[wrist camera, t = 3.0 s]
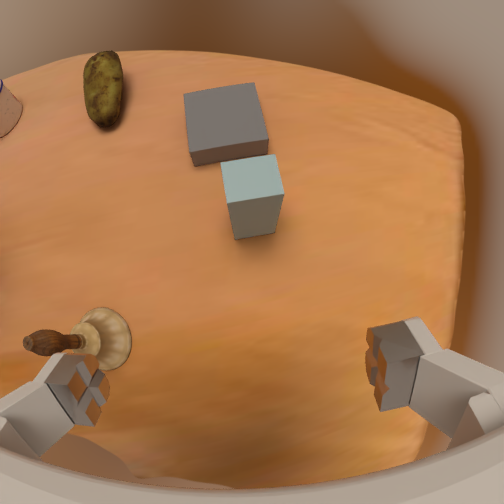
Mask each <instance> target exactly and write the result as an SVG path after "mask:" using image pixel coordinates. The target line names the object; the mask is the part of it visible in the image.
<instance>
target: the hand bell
mask: <svg viewBox="0 0 504 504" xmlns="http://www.w3.org/2000/svg"><path fill="white" fill-rule="evenodd" d="M23 346H24V348H25V349H26V350H29V351H32V352H34V353H36V354H38V355H41V356H52V355H53V354H55V353H61V352H62V351H63V350H65V349H72V350H73V352H74V353H85V354H92V355H94V356H95V357H96V358H97V360H98V362H99V369H101V370H113V369H116V368H118V367H119V366H121V365H122V364H123V363H124V362H125V361H126V359H127V358H128V356H129V353H130V350H131V334H130V330H129V328H128V325H127V323H126V322H125V320H124V319H123V318H122V317H121V316H120V315H119V314H118V313H117V312H115V311H114V310H112V309H109V308H102V307H101V308H95V309H92V310H90V311H89V312H88V313H86V314H85V315H84V316H83V318H82V319H81V321H80V323H78V324H77V325H75V326H74V327H73V329H72V330H71V333H70V335H63V334H61V333H59V332H57V331H54V330H39V331H36V332H34V333H32V334H31V335H29V336H26V337H25V338H24V339H23Z"/></svg>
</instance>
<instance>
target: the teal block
mask: <svg viewBox="0 0 504 504" xmlns="http://www.w3.org/2000/svg"><path fill="white" fill-rule="evenodd" d="M221 170H222V176H223V182H224V188H225V194H226V200H227V205H228V210H229V215H230V219H231V224H232V229H233V233H234V238H235V240H236V239H242V238H248V237H253V236H259V235H265V234H271V233H275V229H276V225H277V221H278V217H279V213H280V209H281V205H282V201H283V197H284V190H283V186H282V182H281V177H280V173H279V169H278V165H277V161H276V156H275V154H272V155H265V156H259V157H252V158H246V159H239V160H233V161H228V162H222V163H221Z"/></svg>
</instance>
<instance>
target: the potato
mask: <svg viewBox="0 0 504 504" xmlns="http://www.w3.org/2000/svg"><path fill="white" fill-rule="evenodd" d="M83 76H84V97H85V105H86V109H87V113H88V115H89V117H90V118H91V119H92V120H93V121H94V122H95V123H96V124H97V125H98V126H100V127H108V126H110V125H112V124H113V123H114V122H115V121H116V119H117V117H118V115H119V113H120V100H121V99H122V82H123V81H122V80H123V71H122V67H121V62H120V59H119V56H118V55H117V53H115V52H113V51H104V52H99V53H97V54H96V55H94V56H92V57H91V58H90V59H89V60H88V61H87V63H86V65H85V68H84V75H83Z"/></svg>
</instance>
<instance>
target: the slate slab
mask: <svg viewBox="0 0 504 504" xmlns="http://www.w3.org/2000/svg"><path fill="white" fill-rule="evenodd" d="M184 104H185V115H186V125H187V134H188V144H189V152H190V155H191V158H192V161H193V163H194V166H200V165H205V164H210V163H216V162H222V161H227V160H233V159H239V158H245V157H252V156H258V155H265V154H267V152H268V141H269V138H268V134H267V130H266V126H265V122H264V118H263V114H262V110H261V107H260V103H259V99H258V95H257V91H256V87H255V83H254V82H253V83H245V84H238V85H231V86H225V87H219V88H213V89H207V90H201V91H196V92H191V93H186V94H184Z"/></svg>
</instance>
